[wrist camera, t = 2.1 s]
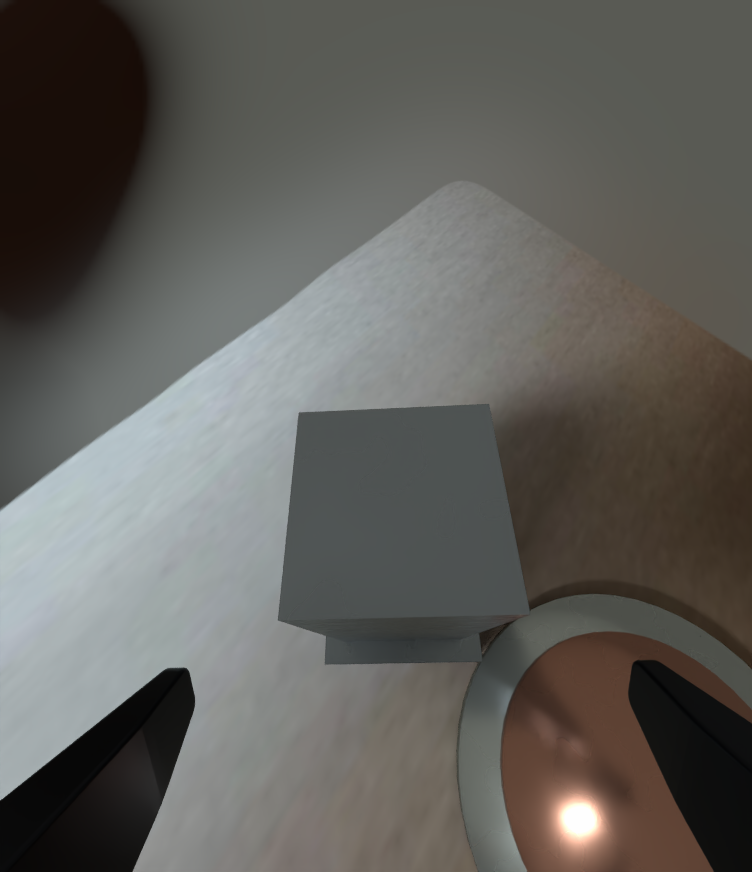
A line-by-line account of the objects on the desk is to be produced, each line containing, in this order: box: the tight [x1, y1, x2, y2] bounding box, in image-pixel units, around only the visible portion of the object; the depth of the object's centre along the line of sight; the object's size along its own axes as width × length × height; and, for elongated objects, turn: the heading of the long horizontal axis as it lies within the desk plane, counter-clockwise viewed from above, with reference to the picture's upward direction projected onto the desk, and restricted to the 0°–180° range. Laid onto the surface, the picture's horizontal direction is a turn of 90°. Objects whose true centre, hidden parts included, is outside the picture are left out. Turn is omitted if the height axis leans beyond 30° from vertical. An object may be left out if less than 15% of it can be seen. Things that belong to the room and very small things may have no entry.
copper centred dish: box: [456, 594, 752, 872], centre depth 14 cm, size 13×13×1 cm
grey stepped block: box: [278, 404, 530, 664], centre depth 13 cm, size 6×6×12 cm
